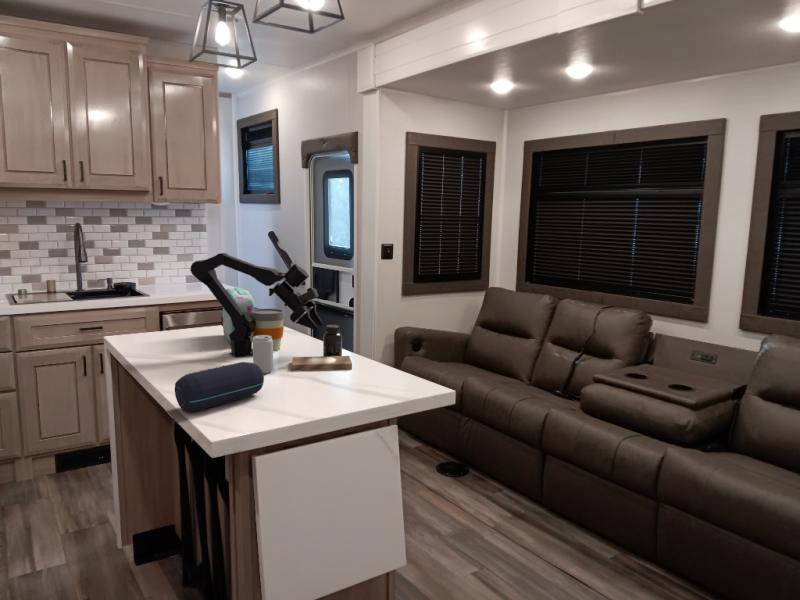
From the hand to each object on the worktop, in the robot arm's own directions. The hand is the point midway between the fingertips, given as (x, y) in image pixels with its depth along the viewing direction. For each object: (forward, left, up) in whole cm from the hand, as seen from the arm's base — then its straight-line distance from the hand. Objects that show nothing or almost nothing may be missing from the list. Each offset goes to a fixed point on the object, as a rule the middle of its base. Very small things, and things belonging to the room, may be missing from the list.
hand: (319, 327), depth 211 cm
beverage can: (-25, -6, -12) cm, 29 cm away
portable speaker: (-49, -28, -12) cm, 58 cm away
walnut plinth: (-5, -10, -11) cm, 16 cm away
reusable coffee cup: (-10, +22, -12) cm, 26 cm away
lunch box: (-11, +45, -12) cm, 48 cm away
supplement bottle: (+4, -3, -12) cm, 13 cm away
